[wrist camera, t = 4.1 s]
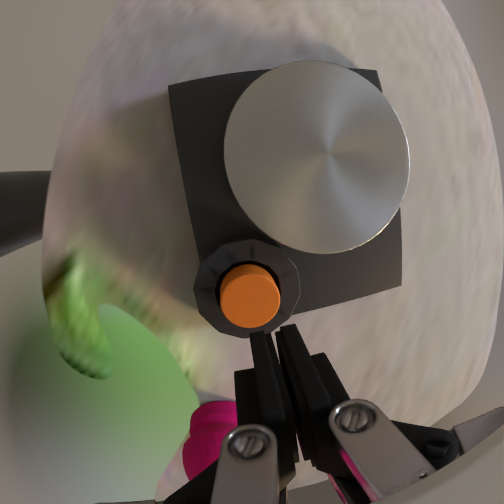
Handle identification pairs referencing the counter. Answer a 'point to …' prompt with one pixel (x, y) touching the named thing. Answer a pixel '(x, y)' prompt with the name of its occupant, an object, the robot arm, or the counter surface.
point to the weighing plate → (316, 157)
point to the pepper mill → (207, 435)
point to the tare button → (249, 296)
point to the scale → (247, 233)
